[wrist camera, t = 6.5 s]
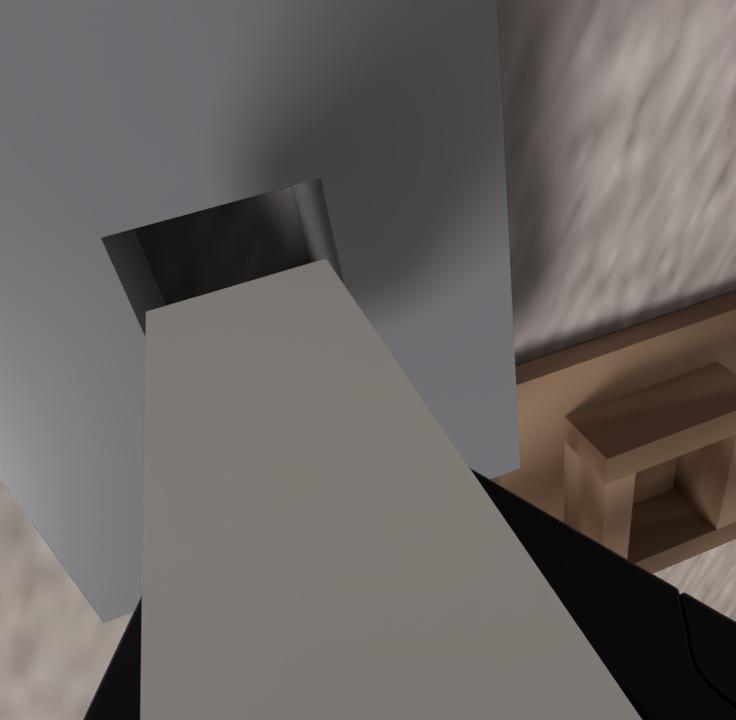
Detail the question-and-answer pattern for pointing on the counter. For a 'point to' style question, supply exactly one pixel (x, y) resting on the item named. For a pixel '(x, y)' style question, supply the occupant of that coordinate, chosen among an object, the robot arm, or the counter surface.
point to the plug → (329, 533)
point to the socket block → (225, 185)
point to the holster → (636, 435)
